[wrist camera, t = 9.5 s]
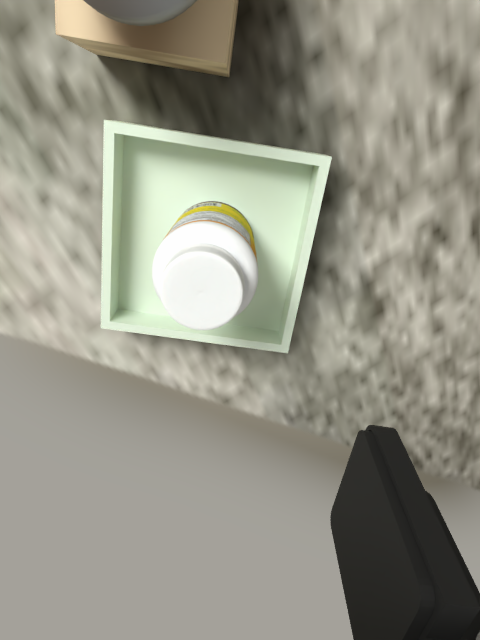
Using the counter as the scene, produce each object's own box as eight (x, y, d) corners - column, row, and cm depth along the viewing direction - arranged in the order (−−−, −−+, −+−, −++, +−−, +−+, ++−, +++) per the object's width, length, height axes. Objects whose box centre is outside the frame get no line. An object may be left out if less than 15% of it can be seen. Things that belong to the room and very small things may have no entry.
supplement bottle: (222, 293, 31) (214, 366, 21) (157, 248, 29) (118, 304, 20) (271, 232, 29) (285, 282, 19) (204, 180, 27) (184, 207, 18)
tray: (322, 154, 27) (331, 157, 25) (283, 334, 33) (287, 353, 30) (118, 120, 27) (103, 119, 24) (112, 311, 32) (100, 328, 29)
